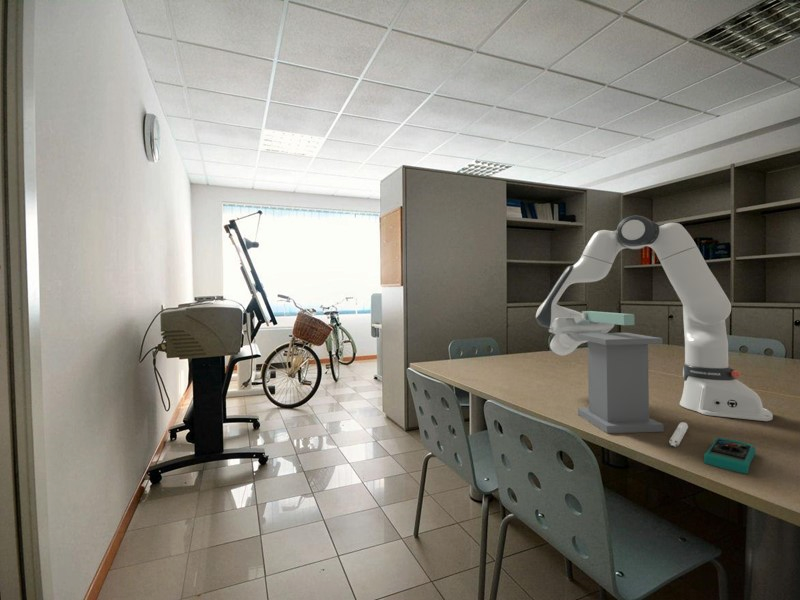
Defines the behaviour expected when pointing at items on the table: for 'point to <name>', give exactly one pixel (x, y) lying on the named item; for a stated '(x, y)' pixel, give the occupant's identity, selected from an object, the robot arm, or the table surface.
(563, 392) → the table surface
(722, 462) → the digital multimeter
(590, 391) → the stand
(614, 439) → the table surface
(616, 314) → the bar
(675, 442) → the white rod
